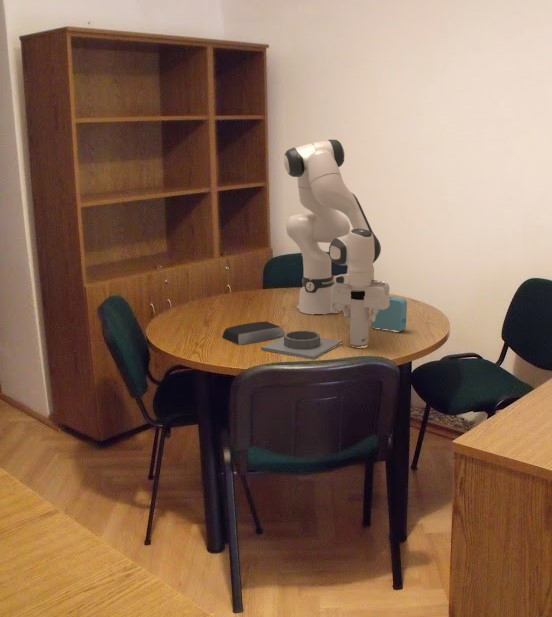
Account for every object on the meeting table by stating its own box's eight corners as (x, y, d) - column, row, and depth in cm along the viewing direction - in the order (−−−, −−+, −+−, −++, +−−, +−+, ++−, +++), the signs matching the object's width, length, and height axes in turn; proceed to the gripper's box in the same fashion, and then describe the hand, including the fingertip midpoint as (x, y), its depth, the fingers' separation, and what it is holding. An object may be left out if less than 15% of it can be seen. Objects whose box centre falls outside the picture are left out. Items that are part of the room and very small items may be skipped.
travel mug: (368, 349, 240) (369, 290, 235) (348, 348, 241) (349, 289, 236) (369, 343, 246) (371, 286, 241) (350, 342, 247) (351, 285, 242)
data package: (406, 330, 262) (407, 298, 259) (400, 333, 258) (402, 301, 255) (376, 326, 268) (377, 294, 265) (370, 328, 265) (371, 297, 262)
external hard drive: (286, 338, 255) (286, 326, 254) (239, 347, 245) (239, 335, 244) (267, 329, 266) (267, 319, 265) (221, 338, 255) (220, 327, 254)
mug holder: (292, 335, 256) (292, 324, 255) (342, 343, 246) (342, 332, 245) (261, 349, 240) (260, 338, 239) (313, 359, 229) (313, 347, 228)
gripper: (393, 280, 235) (391, 321, 238) (337, 274, 246) (337, 313, 249) (385, 283, 230) (384, 325, 233) (329, 277, 241) (328, 317, 244)
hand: (359, 319), depth 241 cm, fingers open, 8 cm apart
